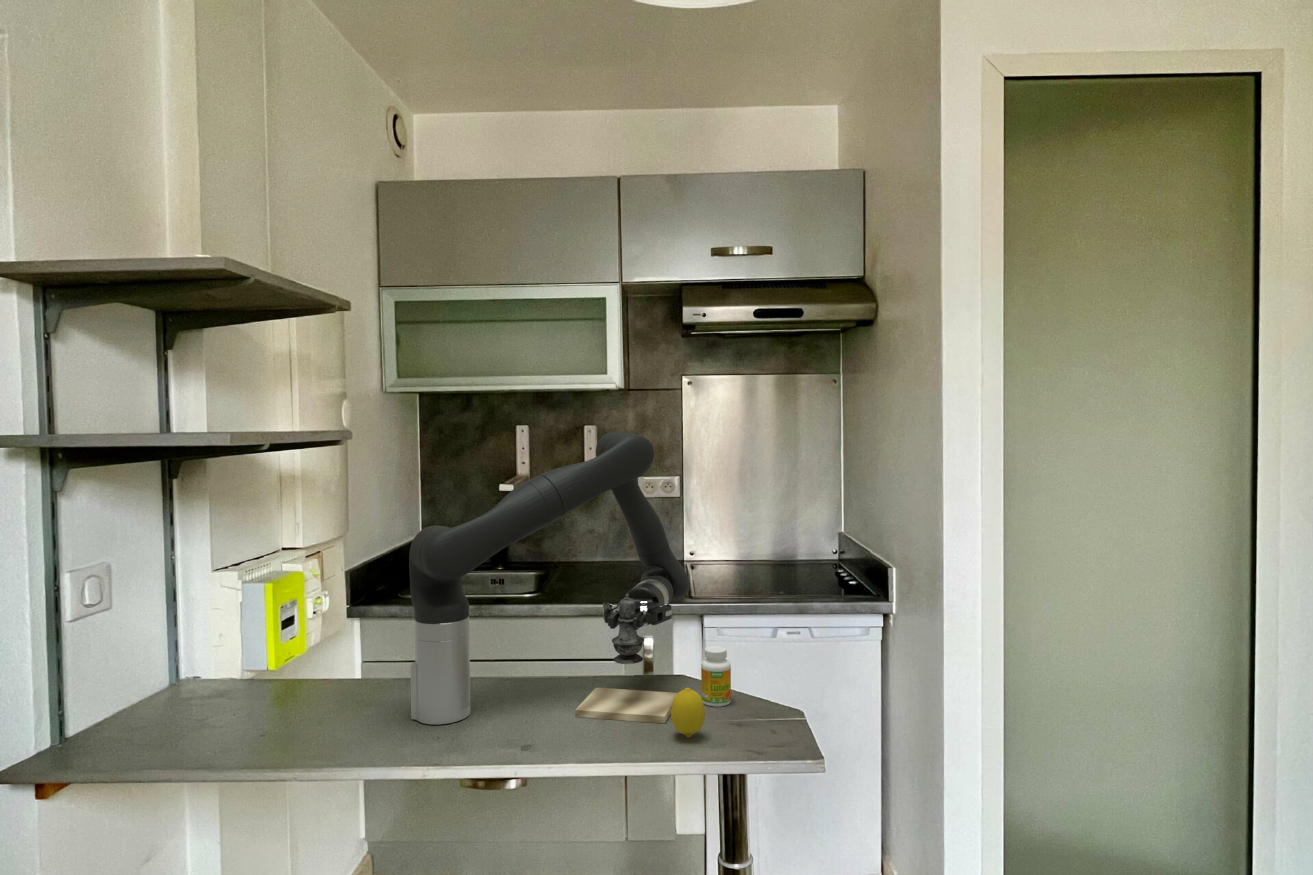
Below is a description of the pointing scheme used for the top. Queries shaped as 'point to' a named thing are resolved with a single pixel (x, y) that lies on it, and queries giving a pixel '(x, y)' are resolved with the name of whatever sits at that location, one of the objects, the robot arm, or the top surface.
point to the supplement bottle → (716, 677)
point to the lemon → (688, 712)
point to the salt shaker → (627, 634)
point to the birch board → (627, 705)
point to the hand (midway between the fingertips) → (623, 623)
